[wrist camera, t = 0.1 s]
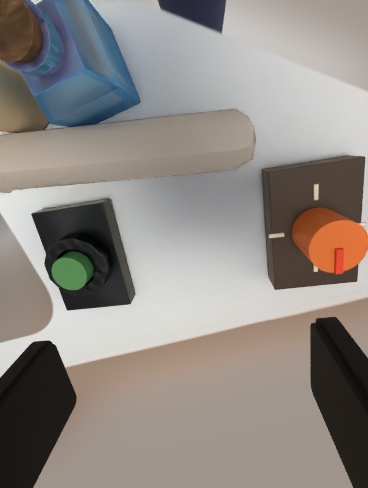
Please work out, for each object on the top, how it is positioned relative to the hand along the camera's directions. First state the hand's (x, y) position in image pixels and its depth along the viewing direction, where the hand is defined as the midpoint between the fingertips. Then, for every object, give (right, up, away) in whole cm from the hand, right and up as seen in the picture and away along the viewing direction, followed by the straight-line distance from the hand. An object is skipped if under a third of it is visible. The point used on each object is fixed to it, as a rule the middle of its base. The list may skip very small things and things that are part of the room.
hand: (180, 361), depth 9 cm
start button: (-11, +2, +18) cm, 21 cm away
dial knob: (+12, +6, +15) cm, 20 cm away
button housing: (-11, +3, +21) cm, 24 cm away
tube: (-6, +13, +17) cm, 22 cm away
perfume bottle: (-8, +20, +15) cm, 26 cm away
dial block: (+13, +7, +18) cm, 23 cm away
